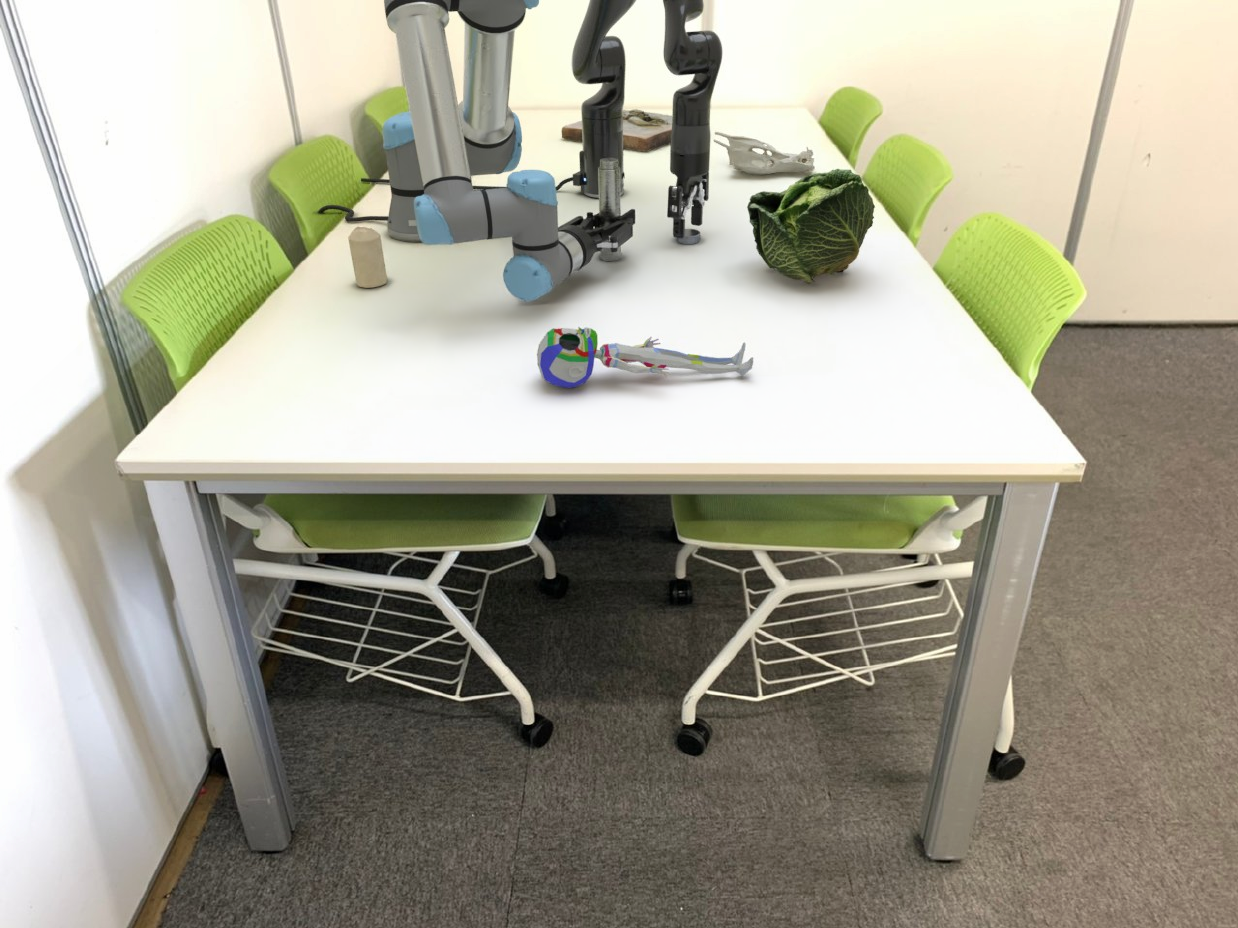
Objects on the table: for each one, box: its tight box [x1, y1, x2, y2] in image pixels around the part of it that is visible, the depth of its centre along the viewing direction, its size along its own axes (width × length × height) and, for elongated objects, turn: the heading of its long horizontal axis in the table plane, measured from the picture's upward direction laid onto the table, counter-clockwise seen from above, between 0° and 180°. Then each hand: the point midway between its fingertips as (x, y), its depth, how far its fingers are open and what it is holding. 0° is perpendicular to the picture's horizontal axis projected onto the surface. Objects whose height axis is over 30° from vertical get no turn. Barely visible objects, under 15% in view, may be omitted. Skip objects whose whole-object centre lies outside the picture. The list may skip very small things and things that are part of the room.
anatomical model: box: [713, 131, 815, 176], centre depth 221 cm, size 15×9×25 cm
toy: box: [536, 326, 754, 389], centre depth 127 cm, size 10×8×30 cm
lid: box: [675, 228, 701, 245], centre depth 179 cm, size 5×5×2 cm
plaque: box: [561, 108, 672, 152], centre depth 257 cm, size 30×7×30 cm
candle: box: [347, 226, 388, 289], centre depth 159 cm, size 6×6×10 cm
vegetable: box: [746, 168, 876, 284], centre depth 158 cm, size 20×19×20 cm
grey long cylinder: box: [598, 158, 622, 262], centre depth 167 cm, size 4×4×18 cm
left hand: (622, 214), depth 172 cm, fingers closed on grey long cylinder, 4 cm apart
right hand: (687, 231), depth 179 cm, fingers open, 8 cm apart
